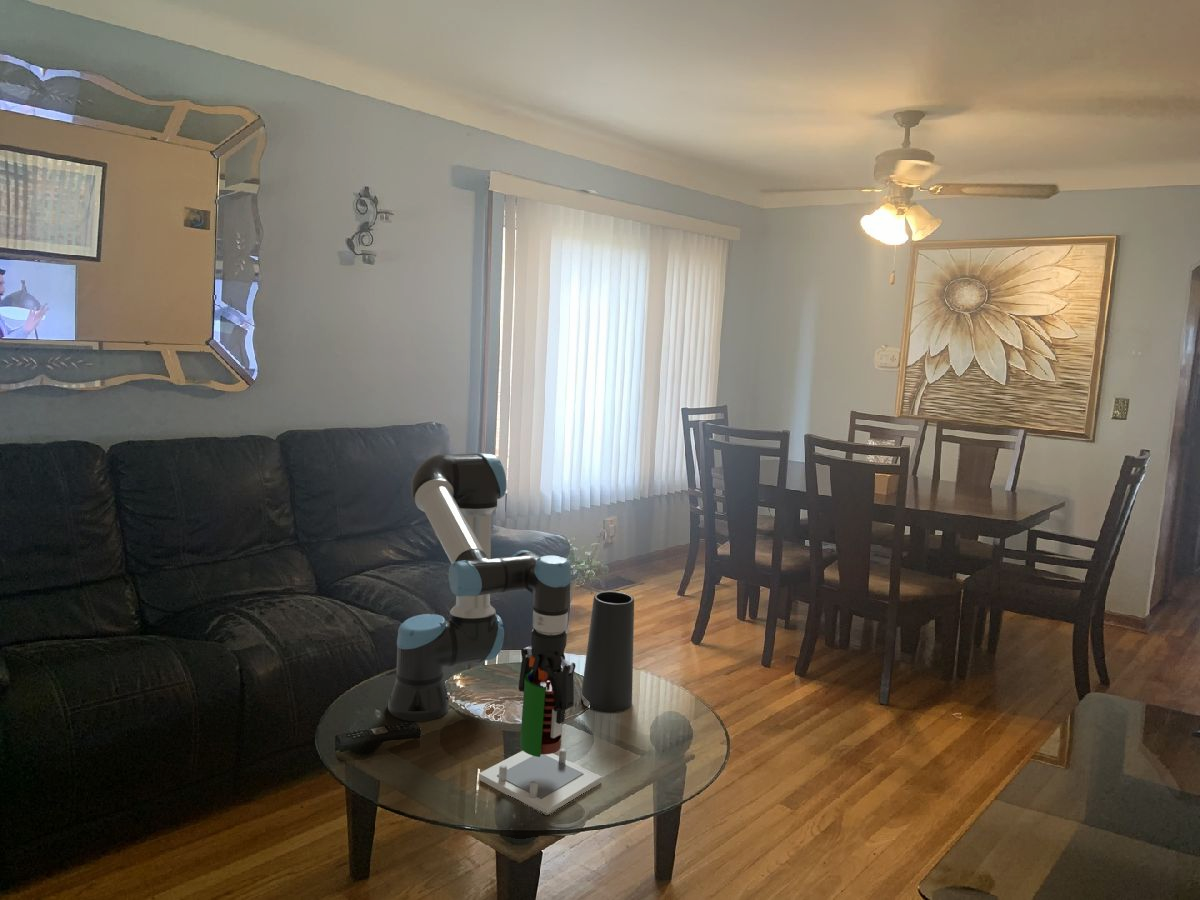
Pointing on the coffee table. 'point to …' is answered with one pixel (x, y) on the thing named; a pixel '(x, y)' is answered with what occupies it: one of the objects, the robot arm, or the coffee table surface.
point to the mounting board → (540, 779)
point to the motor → (538, 716)
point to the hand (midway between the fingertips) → (543, 729)
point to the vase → (610, 653)
